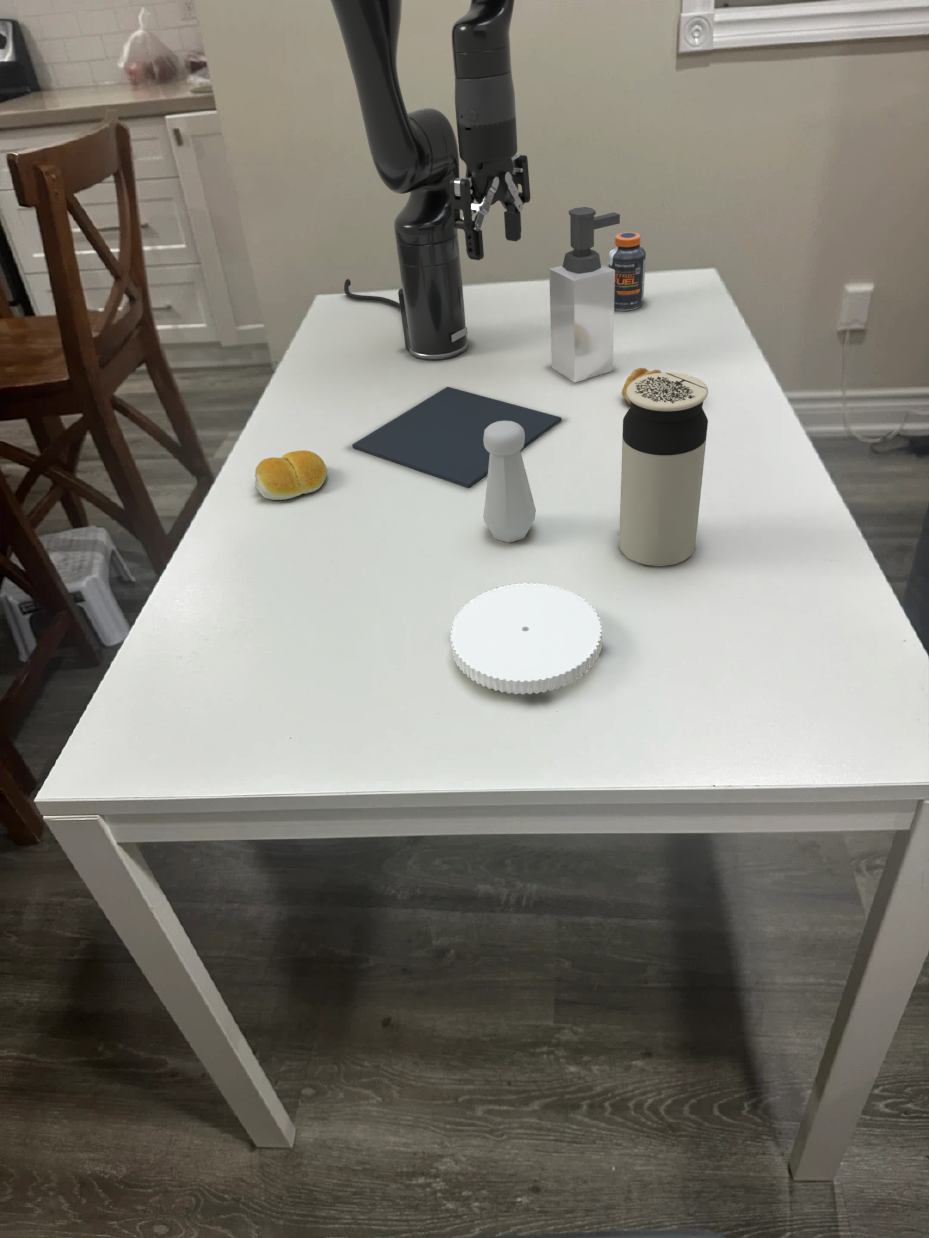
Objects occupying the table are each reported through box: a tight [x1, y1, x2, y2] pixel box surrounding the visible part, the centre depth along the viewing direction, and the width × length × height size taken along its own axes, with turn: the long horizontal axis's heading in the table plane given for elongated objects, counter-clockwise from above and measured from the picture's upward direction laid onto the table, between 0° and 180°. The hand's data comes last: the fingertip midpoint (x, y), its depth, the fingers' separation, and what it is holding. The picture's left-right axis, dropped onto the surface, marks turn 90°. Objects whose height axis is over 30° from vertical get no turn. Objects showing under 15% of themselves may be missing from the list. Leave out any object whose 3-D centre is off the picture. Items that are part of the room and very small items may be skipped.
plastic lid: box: [449, 582, 603, 695], centre depth 81 cm, size 14×14×2 cm
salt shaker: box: [482, 421, 537, 543], centre depth 93 cm, size 6×6×13 cm
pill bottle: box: [608, 231, 647, 312], centre depth 142 cm, size 6×6×11 cm
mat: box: [351, 386, 562, 489], centre depth 116 cm, size 20×20×1 cm
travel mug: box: [618, 372, 709, 567], centre depth 86 cm, size 8×8×18 cm
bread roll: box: [254, 450, 328, 501], centre depth 108 cm, size 8×9×4 cm
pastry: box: [621, 367, 663, 404], centre depth 116 cm, size 9×7×4 cm
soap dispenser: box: [548, 206, 621, 384], centre depth 121 cm, size 6×9×22 cm
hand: (495, 249), depth 119 cm, fingers open, 8 cm apart
